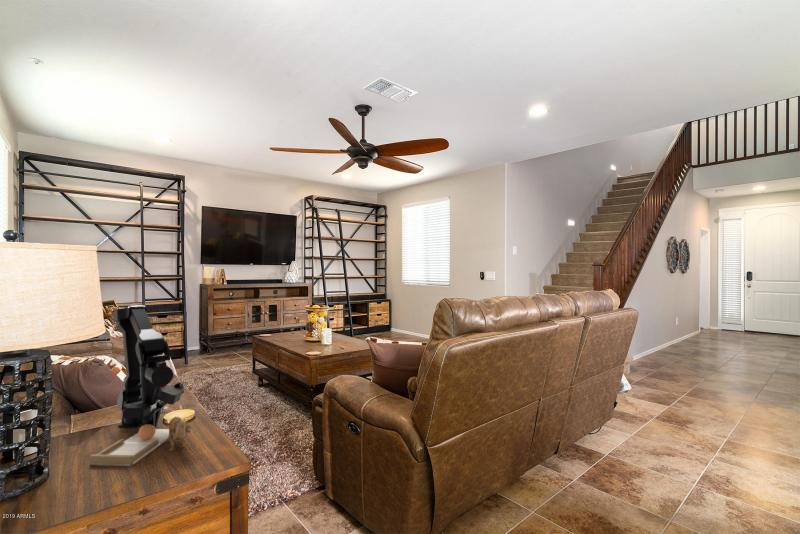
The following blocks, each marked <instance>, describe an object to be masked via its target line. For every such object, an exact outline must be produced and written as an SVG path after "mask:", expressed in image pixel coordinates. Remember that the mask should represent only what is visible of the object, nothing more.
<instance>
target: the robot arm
mask: <svg viewBox="0 0 800 534" xmlns="http://www.w3.org/2000/svg"><path fill="white" fill-rule="evenodd" d="M112 319H113V322H115V328H116V329H117V330H118V331H119V333H121V334H122V341H123V342H122V344H123V353H124V355H123V356H124V366H125V374H126V375H125V379H124V381H123V383H122V384H121V390H120V392H119V394H118V396H117V400H116V403H117V407H118V408H119V409H120V410H121V423H119V424H117V427H118V428H119V427H120V428H123V427H124V428H138V427H140V426H142V425H143V424H144V423H146V424H151V425H153V426H154V427H155V429H157V427H158V423H159V420H160V416H161V414H162V410H163V408H164V407H166V406H167V405H175V403H177V402H179V401H180V400H181V397H182V395H183V394H184V393H185V389H184V388H185V386H184V383H183V382H181V381H178V382H177V383H174V384H170V385H169V383H171V382H172V381H173V378H174V371H173V369H172V368H171V367H170V366H168V365H167V361H171V357H172V356H171V355H172V352H171V349H170V346H169V344H168V342H167V339H165V337H164V336H163V335H162V333H161V332H158V331H156V330H155V328H154V327H153V324H152V322H151V320H150V317H149V316H148V313H147V307H146V305H144V304H143V305H142V304H137V305H134V304H133V305H129V306H126V307H123V306H121V307H118V308H117V309H116V310H114V311H113V314H112ZM146 424H145V425H146Z"/></svg>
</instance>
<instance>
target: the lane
mask: <svg viewBox="0 0 800 534" xmlns="http://www.w3.org/2000/svg"><path fill="white" fill-rule="evenodd" d="M155 429H156V431H155V434H154V436H153V437H152V438H150V439H148V440H143V439H141V438H140V437H139V435H138V432H137V433H135V434H133V435H132V436H130V437H128V438H127V439H126V440H125V439H124V438H121V439H119V440H118V441H116V442H114V443H112V444H110V445H109V446H108V447H105V449H103V450H101V451H100V452H98V453H92V454H90V455H89V465H90V466H109V467H114V466H115V467H132V466H133V465H135V464H136V463H137V462H139V461H140V460H142V459H143V458H144V457H146V456H147V455H148V454H150V453H152V451H154V450H155V449H157V448H158V447H160V446H161V445H162V444H163V443H165V442H167V439H168V437H169V428H155Z"/></svg>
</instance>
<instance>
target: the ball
mask: <svg viewBox="0 0 800 534" xmlns="http://www.w3.org/2000/svg"><path fill="white" fill-rule="evenodd" d="M156 429H157V428H155V427H154V426H153V425H151V424H144V425H141V427H140V428H139V430H138V432H137V433H138V435H139V437H140V438H141V439H143V440H148V439H150V438H152V437H153V436H154V434H155V431H156Z"/></svg>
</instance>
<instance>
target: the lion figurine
mask: <svg viewBox="0 0 800 534" xmlns="http://www.w3.org/2000/svg"><path fill="white" fill-rule="evenodd" d="M193 428H194V426H192V425H190V424H189V423H188V421H187V419H181V417H179V416H174V417H172V418H171V420H170V422H169V426H168V429H169V437H168V439H167V440H166V442H170V443H169V445H170V448H169V451H171V452H173V451H175V442H178V447H179V448H181V447H183V448H184V447H185V444H184V438H186V436H187V434H190V433H192V430H193ZM181 449H182V448H181ZM172 450H173V451H172Z"/></svg>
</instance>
